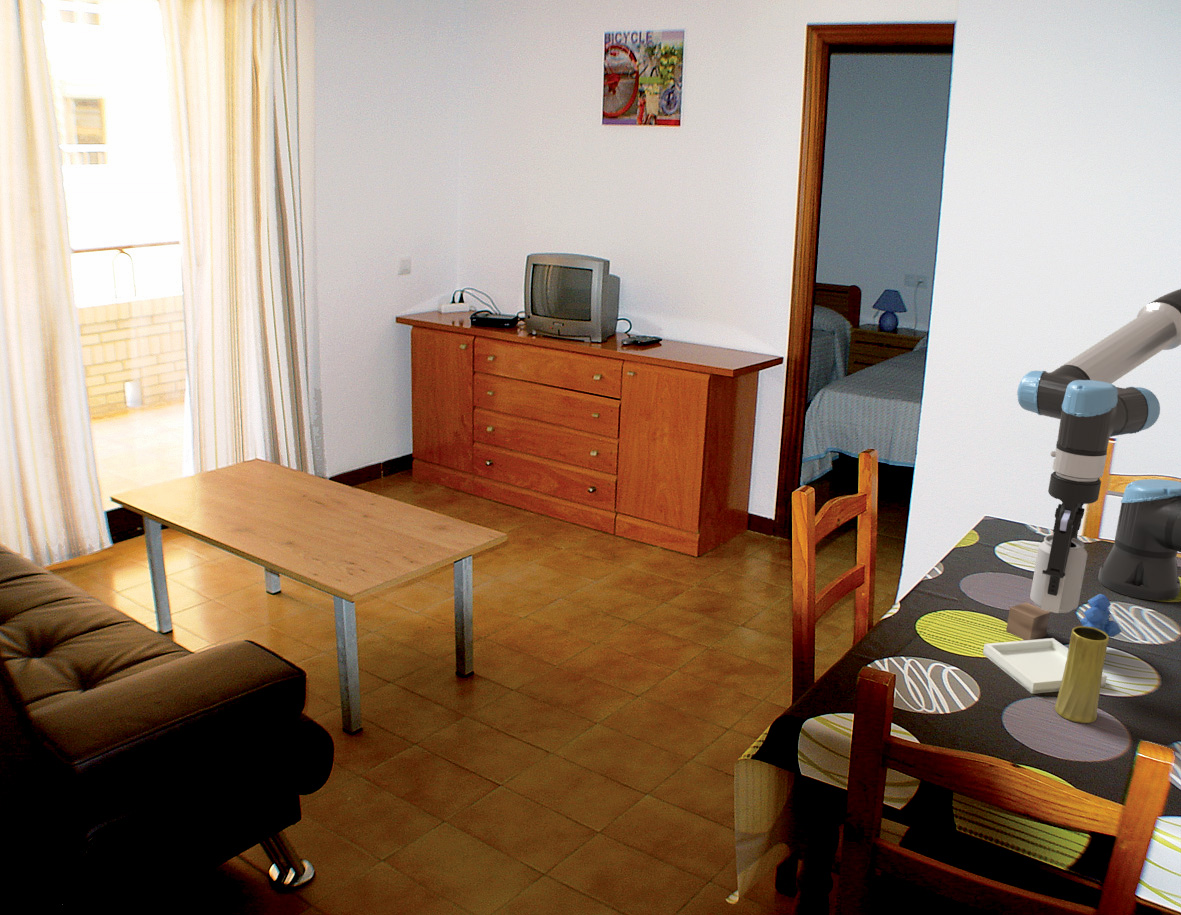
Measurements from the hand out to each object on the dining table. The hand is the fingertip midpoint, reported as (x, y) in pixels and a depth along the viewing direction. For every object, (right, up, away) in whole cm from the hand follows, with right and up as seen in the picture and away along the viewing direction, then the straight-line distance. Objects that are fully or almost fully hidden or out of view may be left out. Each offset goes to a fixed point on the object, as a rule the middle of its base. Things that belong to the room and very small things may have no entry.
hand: (1053, 602), depth 167 cm
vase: (-1, -17, -10) cm, 19 cm away
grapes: (+12, -11, +9) cm, 19 cm away
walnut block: (+3, -9, +17) cm, 19 cm away
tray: (0, -12, +4) cm, 13 cm away
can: (0, -1, 0) cm, 1 cm away
